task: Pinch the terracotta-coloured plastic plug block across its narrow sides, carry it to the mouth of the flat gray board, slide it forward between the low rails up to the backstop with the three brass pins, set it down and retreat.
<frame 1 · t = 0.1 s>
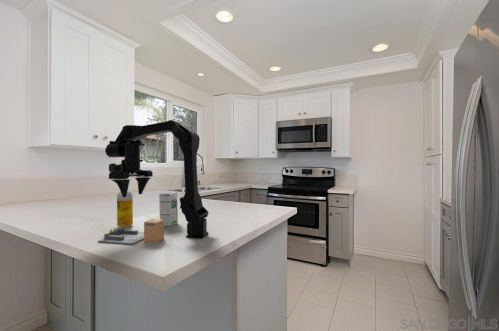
hand: (132, 195, 95), 15 cm above the table, fingers open, 9 cm apart
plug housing: (154, 240, 84), on the table
flat gray board: (127, 238, 87), on the table
beer can: (125, 226, 103), on the table
syrup box: (168, 224, 106), on the table
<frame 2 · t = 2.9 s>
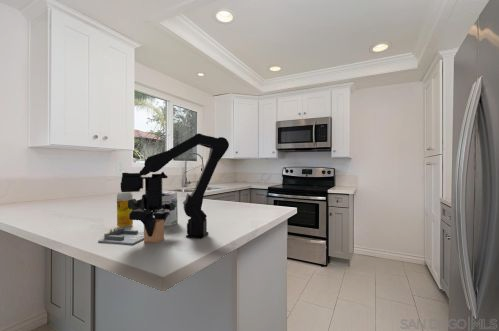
hand: (154, 234, 84), 2 cm above the table, fingers closed on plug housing, 4 cm apart
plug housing: (154, 240, 84), on the table, touching gripper
everything else where it was.
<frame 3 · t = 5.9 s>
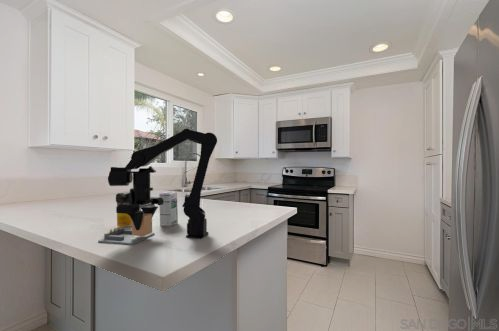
hand: (142, 228, 85), 4 cm above the table, fingers closed on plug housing, 4 cm apart
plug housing: (142, 233, 85), point 2 cm above the table, touching gripper
everything else where it was.
when the fingers open (3 cm above the table, at t = 9.0 s): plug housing stays where it is, resting on flat gray board.
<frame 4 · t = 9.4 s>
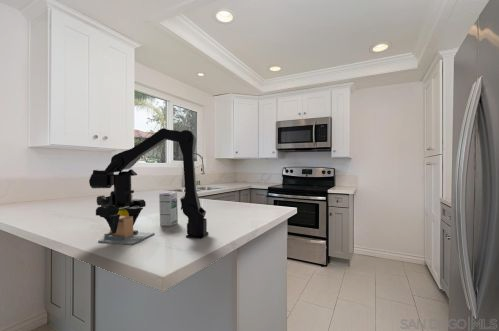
hand: (123, 230, 87), 3 cm above the table, fingers open, 8 cm apart
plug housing: (123, 236, 87), point 1 cm above the table, touching flat gray board
everything else where it was.
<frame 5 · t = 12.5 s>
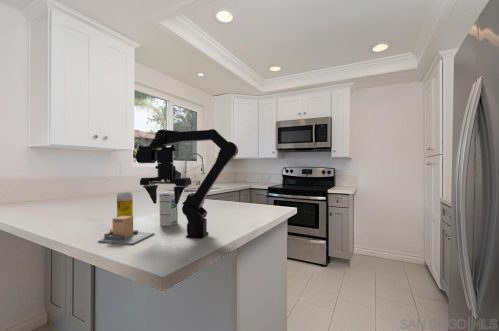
hand: (165, 204, 90), 12 cm above the table, fingers open, 9 cm apart
nothing on the table moved.
at the end: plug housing 0.0 cm from the target spot on the flat gray board, point 0.6 cm above the flat gray board's base; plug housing tilted 0°; the gripper is holding nothing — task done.
